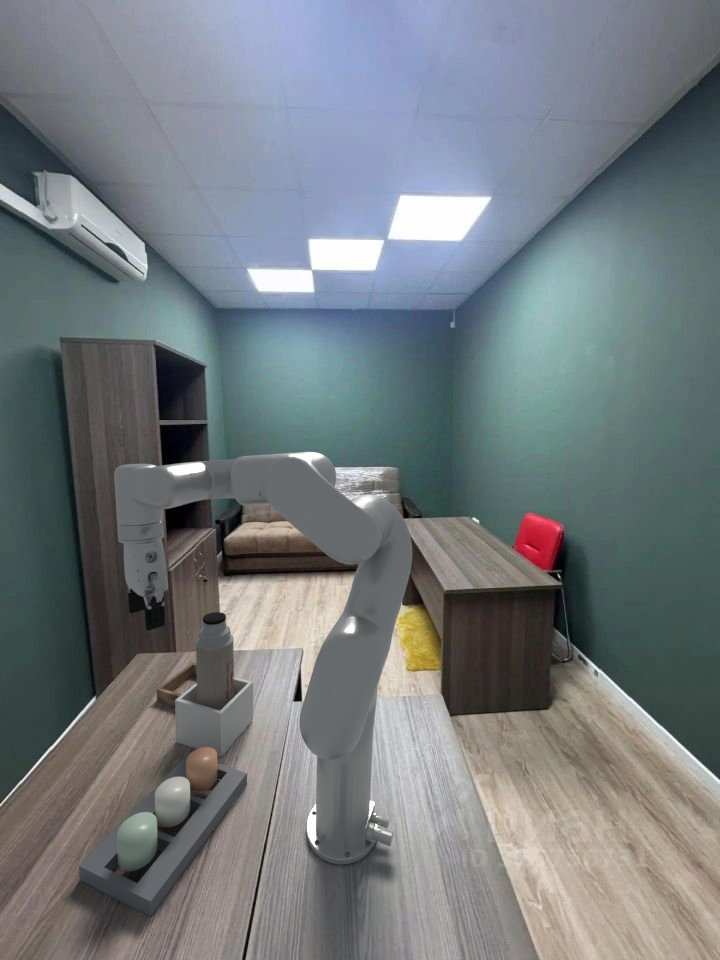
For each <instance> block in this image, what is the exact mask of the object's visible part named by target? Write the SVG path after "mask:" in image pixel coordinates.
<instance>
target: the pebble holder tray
mask: <svg viewBox="0 0 720 960" xmlns="http://www.w3.org/2000/svg"><path fill="white" fill-rule="evenodd" d="M189 754H190V753H188V754H187V755H186V756H185V757H183V759H182V760H180V762H179V763H177V765H176V766H175V767H174V768H173V769H172V770H171V771H170V772H169V773H168V774H167V775H166V776H165V777H164V778H163V779H162V780H161V781H160V782H159V783H158V784H157V785H156V786H155V788H153V790H152V791H151V792H149V794H148V795H146V797H145V798H144V799H143V800H142V801H141V802H140V803H139V804H138V805H137V806H136V807H135V808H134V809H132V811H131V812H130V813H129V814H127V816H126V817H125V818H124V819H123V820H122V821H121V822H120V823H119V824H118V825H117V826H116V827H115V828H114V829H113V831H111V832H110V834H108V836H106V838H104V840H103V841H102V842H101V843H99V845H97V847H96V848H95V849H94V850H93V851H92V852H91V853H90V854H89V855H88V856H87V857H86V858H85V859H84V860H83V861H82V862H81V863H80V864H79V865H78V873H79V881H80V882H83V883H84V884H87V885H89V886H91V887H92V888H94V889H96V890H98V891H100V892H102V893H105V894H106V895H108V896H110V897H111V898H114V899H116V900H118V901H120V902H121V903H124V904H125V905H128V906H130V907H131V908H134V909H136V910H138V911H140V912H141V913H143V914H145V915H147V916H149V917H152V916H153V915H154V913H155V912H156V910H157V909H158V908H159V906H160V905H161V904H162V902H163V900H165V898H166V897H167V895H168V894H169V893H170V891H171V890H172V889H173V887H174V885H176V883H177V882H178V880H179V879H180V878H181V876H182V875H183V874H184V872H185V871H184V870H186V869H187V868H188V866H189V865H190V864H191V862H192V861H193V859H194V858H195V857H196V855H197V854H198V853H197V851H198V850H199V849H200V850H201V848H202V847H203V846H204V844H205V843H206V842H207V840H208V839H209V837H210V836H211V835H212V833H213V832H214V831H213V829H214V828H215V827H216V828H217V826H218V825H219V824H220V822H221V821H222V820H221V818H222V817H223V816H224V817H225V815H226V814H227V813H226V812H228V811H229V810H230V809H229V808H231V807H232V806H233V804H234V803H235V802H234V801H236V800H237V799H238V798H239V796H240V795H239V794H241V793H242V792H243V791H242V790H244V789H245V788H246V786H247V785H248V773H247V772H245V771H242V770H239V769H237V768H234V767H229V766H227V765H224V764H221V763H218V762H217V779H220V780H221V781H219V782H218V783H217V784H216V785H215V787H214V788H213V789H212V790H211V792H210V793H209V794H208V796H207V797H206V798H205V799H203V798H201V797H198V796H195V795H192V794H190V812H189V813H192V815H191V817H190V818H189V819H188V820H187V822H186V823H185V824H184V825H183V826H182V827H181V829H180V830H179V831H178V832H177V834H176V835H175V837H174V836H172V835H170V834H168V833H165V832H163V831H160V830H158V829H157V837H158V848H157V851H159V852H160V855H159V856H158V857H157V859H156V860H154V862H153V863H152V864H151V866H150V867H149V868H148V870H147V871H146V872H145V874H144V875H143V876H142V877H141V878H140V880H138V882H136V881H133V880H132V879H130V878H127V877H125V876H123V875H121V874H119V873H117V872H115V870H117V868H118V867H119V865H118V854H117V832H118V829H119V828H120V826H121V825H122V824H123V822H125V821H126V820H127V819H128V818H129V817H131V816H133V815H135V814H137V813H141V812H150V813H152V814H154V815H155V792H156V790H157V788H158V787H159V785H160V784H161V783H163V782H164V781H166V780H167V779H170V778H173V777H184V778H186V759H187V757H188V756H189ZM238 795H239V796H238ZM237 797H238V798H237ZM236 798H237V799H236ZM233 802H234V803H233ZM232 803H233V804H232ZM231 805H232V806H231ZM230 806H231V807H230ZM228 809H229V810H228ZM227 810H228V811H227ZM225 813H226V814H225ZM224 814H225V815H224ZM224 817H223V818H224ZM223 818H222V819H223ZM220 820H221V821H220ZM219 821H220V822H219ZM218 823H219V824H218ZM217 824H218V825H217ZM216 828H215V829H216ZM215 829H214V830H215ZM212 831H213V832H212ZM211 832H212V833H211ZM210 834H211V835H210ZM209 835H210V836H209ZM208 836H209V837H208ZM207 838H208V839H207ZM206 839H207V840H206ZM205 841H206V842H205ZM204 842H205V843H204ZM203 843H204V844H203ZM202 845H203V846H202ZM201 846H202V847H201ZM200 847H201V848H200ZM200 850H199V851H200ZM199 851H198V852H199ZM196 853H197V854H196ZM195 854H196V855H195ZM194 856H195V857H194ZM193 857H194V858H193ZM191 860H192V861H191ZM190 861H191V862H190ZM189 863H190V864H189ZM188 864H189V865H188ZM186 867H187V868H186ZM183 871H184V872H183Z"/></svg>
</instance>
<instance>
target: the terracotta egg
mask: <svg viewBox="0 0 720 960" xmlns="http://www.w3.org/2000/svg"><path fill="white" fill-rule="evenodd" d="M188 754H189V756H188V757H187V759H186V779H188V781H189V782H190V792H191V791H192V792H203V791H206V790H208V789H210V788H211V787H213V785H214V784H215V783H216V782H217V781H218V780H217V763H218V756H217V752H216V750H215V749H213V748H210V747H203V748H199V749H196V748H195V750H193V751H192V752H191V753H188Z"/></svg>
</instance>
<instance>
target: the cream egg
mask: <svg viewBox="0 0 720 960" xmlns="http://www.w3.org/2000/svg"><path fill="white" fill-rule="evenodd" d="M190 795H191V790H190V782H189V781H188V779H186V778H184V777H173V778H170V779H167V780H166V781H164V782H163V783H161V784H160V785H159V787H158V788H157V790H156V792H155V816H156V818H157V826H159V827H160V828H161V827H162V828H172V827H173V828H174V827H176V826H177V825H180V824H181V823H182V822H184V820H186V819H187V818H188V816H189V814H190V813H191V812H190Z"/></svg>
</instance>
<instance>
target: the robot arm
mask: <svg viewBox="0 0 720 960" xmlns="http://www.w3.org/2000/svg"><path fill="white" fill-rule="evenodd" d="M113 474H114V475H113V479H114V492H115V493H114V494H115V511H116V524H117V525H116V526H117V540H118V543H120V544H123V566H124V567H123V568H124V569H123V570H124V578H125V584H126V585H127V600H128V612H129V613H130V614H134V613H138V612H141V611H142V612H143V611H144V627H145V629H146V631H147V632H148V631H151V630H155V629H158V628H161V627H164V626H165V625H166V619H165V596H164V593H165V592H166V591H167V590H168V589H169V581H168V572H167V562H166V555H165V550H164V549H165V548H164V544H163V541H162V539H163V538H164V537H165V531H164V512H163V511H164V510H167V509H168V510H169V509H172V508H176V507H180V506H183V505H188V504H191V503H194V502H200V501H204V500H215V499H217V500H221V499H235V501H236V502H237V503H238V504H239V505H241V506H243V507H257V506H261V507H262V506H272V507H273V509H274V510H275V511H276V512H277V513H278V514H279V515H281V516H282V518H284V519H285V520H286V521H287V522H288V523H289V524H290V525H291V526H293V527H294V528H295V529H296V530H297V531H298V532H299V533H300V534H302V535H303V537H306V539H308V540H309V541H310V542H311V543H313V544H314V546H316V548H318V549H319V550H320V551H321V552H323V553H324V554H325V555H326V556H328V557H330V558H331V559H333V560H334V561H336V562H338V563H342V564H345V565H349V566H350V565H351V566H353V565H357V568H356V571H355V574H354V576H353V578H352V583H351V587H350V588H351V589H350V592H349V594H348V597H347V600H346V603H345V606H344V609H343V611H342V613H341V614H340V616H339V618H338V619H337V621H336V622H335V623H334V625H333V626H332V628H331V630H330V631H329V633H328V635H327V636H326V637H325V639H324V640H323V642H322V644H321V647H320V649H319V651H318V654H317V656H316V659H315V663H314V666H313V669H312V673H311V675H310V679H309V682H308V686H307V689H306V693H305V695H304V700H303V703H302V707H301V711H300V716H299V730H300V735H301V737H302V740H303V743H304V744H305V746H306V747H307V748H308V749H309V751H310V752H311V753H312V754H313V755H315V756H316V779H315V780H316V785H315V787H316V790H315V792H316V793H315V804H314V806H313V807H312V809H311V810H310V812H309V814H308V817H307V820H306V821H307V822H306V838H307V842H308V844H309V846H310V848H311V850H312V851H313V852H314V854H315V855H316V856H317V857H319V858H321V860H323V861H325V862H328V863H329V864H330V863H331V864H333V865H341V866H342V865H349V864H353V863H355V862H359V861H360V860H362V859H364V858H365V857H366V856H367V855H368V854H369V853H370V852H371V850H372V849H373V848H374V846H375V844H376V842H379V843H380V844H382V845H385V846H388V847H392V842H393V837H394V832H393V831H391V830H387V829H389V826H390V818H389V817H384V816H380V815H378V812H375V806H376V805H375V804H376V803H375V802H374V801H372V800H371V789H372V788H371V787H372V785H371V784H372V769H373V768H372V767H373V766H372V765H373V764H372V763H373V746H374V745H373V743H374V742H373V741H374V731H375V730H374V728H375V718H376V709H377V700H378V686H379V682H380V680H381V677H382V673H383V670H384V667H385V665H386V662H387V659H388V655H389V654H390V653H389V652H390V649H391V644H392V639H393V634H394V630H395V626H396V622H397V620H398V616H399V613H400V611H401V607H402V603H403V599H404V595H405V592H406V590H407V586H408V582H409V579H410V575H411V570H412V569H411V568H412V562H413V545H412V537H411V533H410V529H409V528H408V524H407V522H406V520H405V518H404V517H403V516H402V514H401V513H400V511H399V510H398V508H396V507H395V506H394V505H393V503H391V502H389V500H387V499H386V498H384V497H381V496H380V495H375V494H363V495H359V496H357V497H354V498H352V499H349V497H347V496H346V495H345V494H344V493H342V492H341V491H340V490H339V489H337V487H335V486H336V483H337V472H336V468H335V465H334V463H333V462H332V461H331V460H330V458H329V457H327V456H325V455H324V454H322V453H320V452H315V451H302V452H301V451H300V452H299V451H298V452H288V453H287V452H285V453H273V454H272V453H271V454H257V455H243V456H238V457H237V458H230V459H215V460H203V461H202V460H201V461H190V462H189V461H187V462H180V463H179V462H178V463H172V464H163V465H155V464H150V463H130V464H128V463H127V464H122V465H119V466H118V467H116V468H115V471H114V472H113ZM150 597H151V599H150ZM378 826H380V827H382V828H380V827H378Z"/></svg>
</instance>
